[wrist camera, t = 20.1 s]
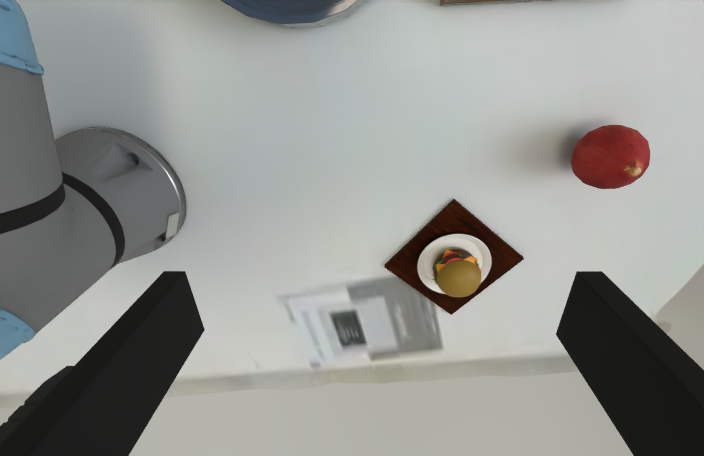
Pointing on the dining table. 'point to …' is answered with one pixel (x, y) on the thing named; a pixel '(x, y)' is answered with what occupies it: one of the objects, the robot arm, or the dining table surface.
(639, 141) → the onion
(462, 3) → the board
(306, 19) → the bowl
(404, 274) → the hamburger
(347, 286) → the dining table surface
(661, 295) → the dining table surface
